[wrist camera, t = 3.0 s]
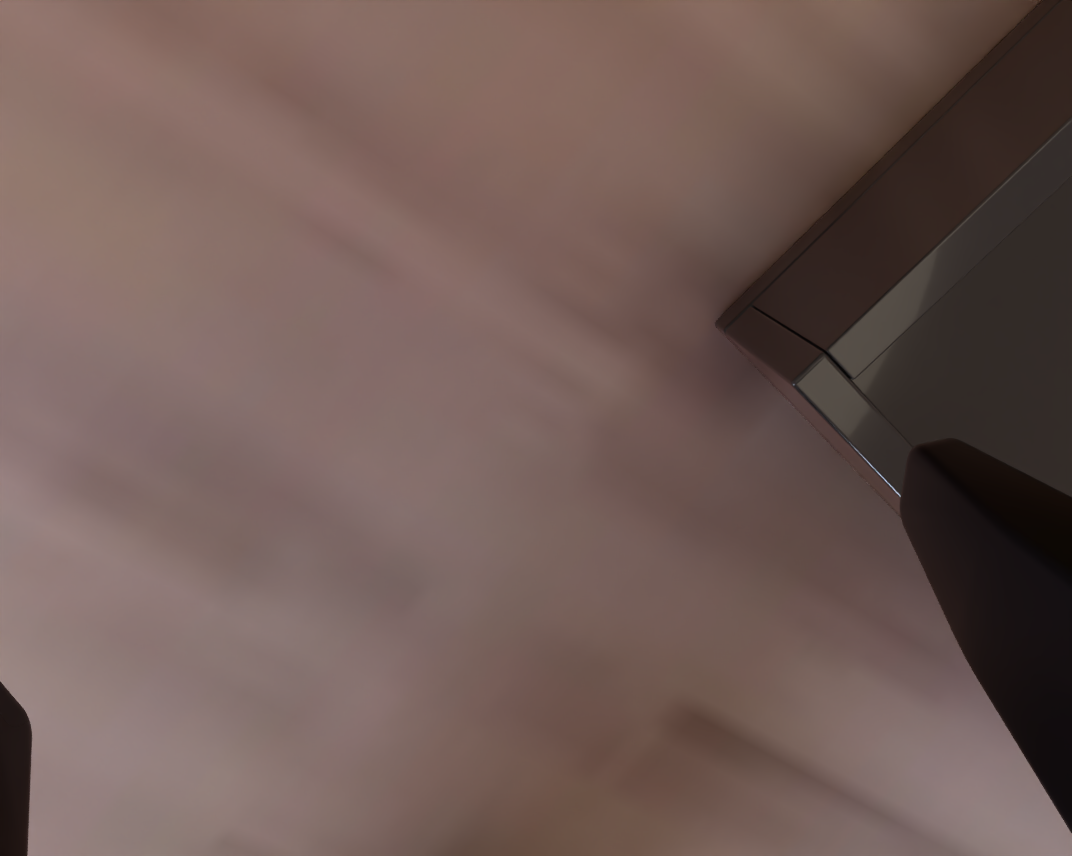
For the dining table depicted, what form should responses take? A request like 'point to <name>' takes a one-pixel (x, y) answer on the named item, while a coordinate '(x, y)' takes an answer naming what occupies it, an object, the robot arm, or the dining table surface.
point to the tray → (940, 281)
